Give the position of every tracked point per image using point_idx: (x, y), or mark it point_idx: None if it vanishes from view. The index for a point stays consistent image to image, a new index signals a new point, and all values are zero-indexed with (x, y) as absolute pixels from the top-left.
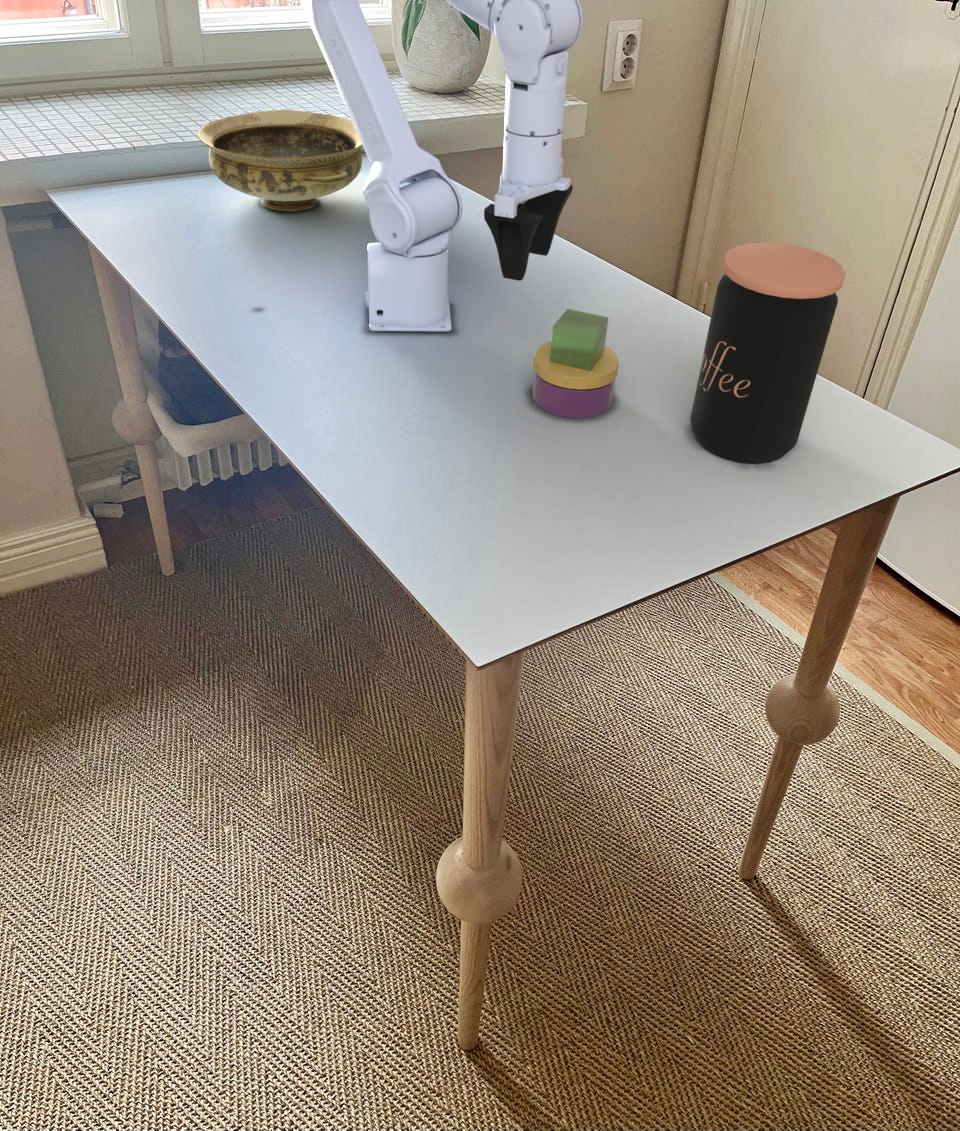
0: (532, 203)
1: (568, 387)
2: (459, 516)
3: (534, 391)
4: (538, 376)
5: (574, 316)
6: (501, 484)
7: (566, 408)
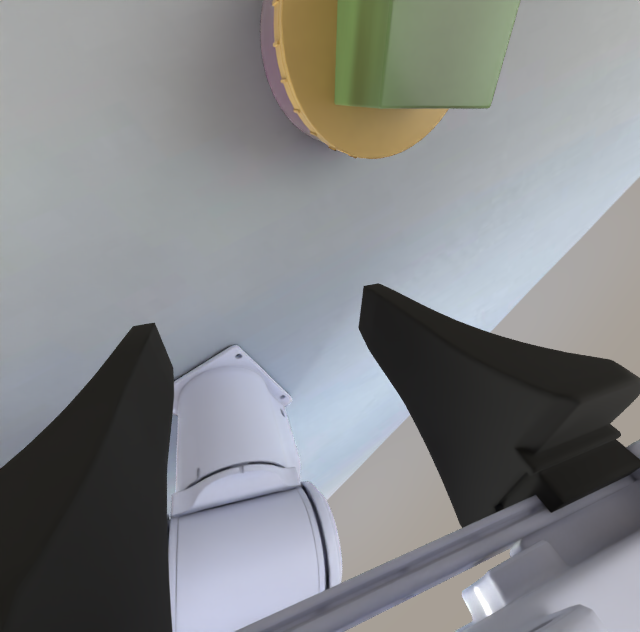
0: (152, 544)
1: None
2: (631, 104)
3: None
4: None
5: (428, 58)
6: (585, 78)
7: None
